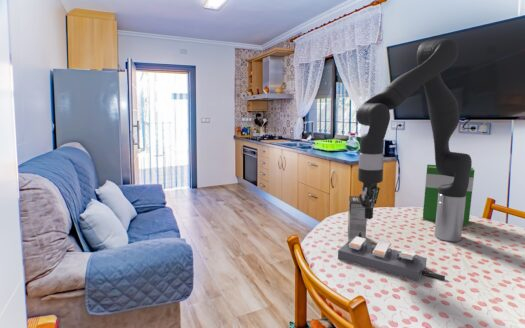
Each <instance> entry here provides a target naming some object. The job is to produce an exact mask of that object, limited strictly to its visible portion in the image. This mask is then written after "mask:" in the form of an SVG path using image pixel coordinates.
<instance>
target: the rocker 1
mask: <svg viewBox="0 0 525 328" xmlns="http://www.w3.org/2000/svg"><path fill="white" fill-rule="evenodd" d="M364 243H367V238H361V237H357V236H356V237H355V238H354V239H353V240H352V241H351V242H350V243H349V245H348V247H349V248H353V249H357V250H359V249H360V248H361V247H362V245H363V244H364Z"/></svg>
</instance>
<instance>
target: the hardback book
mask: <svg viewBox="0 0 525 328" xmlns="http://www.w3.org/2000/svg"><path fill="white" fill-rule="evenodd" d="M474 176H475V169H474V167H471V172H470V178H469V185H468V189H467V192H466V200H465V210H464V219H463V226H469V224H470V214H471V213H470V212H471V206H472V205H471V204H472V197H473V196H472V195H473V189H474V187H473V186H474V178H475V177H474ZM453 181H454V177H451V176H445V175H441V174H439V173H438V171H437V169H436V164H427V165H426V175H425V187H424V199H423V208H422V210H423V212H422V220H423V221H432V222H436V212H437V202H438V190H439V186H441V185H444V184H450V183H453Z"/></svg>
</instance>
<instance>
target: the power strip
mask: <svg viewBox="0 0 525 328" xmlns="http://www.w3.org/2000/svg"><path fill="white" fill-rule="evenodd" d="M351 241H352V239H350V240H349V241H348V240H347V242H346V243H345V244H344V245H342V246H341V247H340V248H339V249H338V250H337V259H338V260H342V261H345V262H348V263H352V264H355V265H358V266H363V267H366V268H370V269H373V270H377V271H380V272H384V273H387V274H391V275H393V276H399V277H401V278H405V279H408V280H412V281H416V282H419V281H420V279H422V278H421V277H422V276H423V275H424V276H427V277H432V278H435V279H438V280H443V281H445V279H446V275H443V274H440V273H439V274H438V273H437V272H436V273H435V272H431V271H427V270H426V267H427V261H428V259H427V257H424V256H420V255H417V254H416V256H415V258H414V259H412V260H410V259H406V258H402V257H399V253H401V252H402V251H401V250H394V249H393V248H389V249H388V251H387V253H386V255H385V257H384V258H383V257H379V256H375V255H373V251H374V249H375V247H376V245H377V244H376V245H375V244H370V243H367V242H365V243H364V244H363V245H362V247H361V248H360V249H359V250H357V249H353V248H349V247H348V245H349V243H350V242H351Z"/></svg>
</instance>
